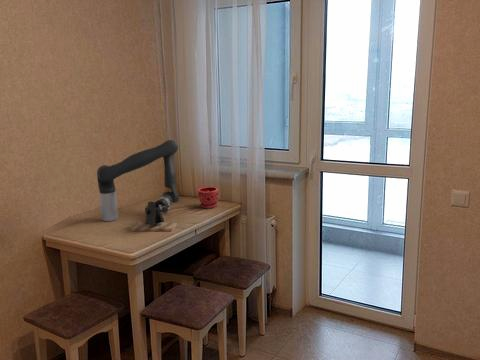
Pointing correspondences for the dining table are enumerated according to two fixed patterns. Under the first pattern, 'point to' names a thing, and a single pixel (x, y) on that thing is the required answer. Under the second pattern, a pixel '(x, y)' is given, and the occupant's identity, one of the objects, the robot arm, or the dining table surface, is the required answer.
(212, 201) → the plant pot
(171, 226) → the oak board
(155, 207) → the phone stand
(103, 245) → the dining table surface
